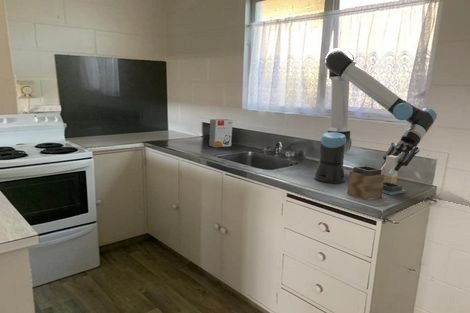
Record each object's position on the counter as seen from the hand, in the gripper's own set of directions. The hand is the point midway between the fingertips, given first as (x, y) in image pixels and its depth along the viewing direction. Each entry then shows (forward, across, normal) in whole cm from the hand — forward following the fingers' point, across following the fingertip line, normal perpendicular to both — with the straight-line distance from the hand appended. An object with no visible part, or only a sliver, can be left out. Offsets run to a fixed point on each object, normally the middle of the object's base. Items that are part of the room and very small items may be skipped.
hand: (385, 173), depth 154 cm
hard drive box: (+18, +129, +7) cm, 131 cm away
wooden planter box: (+15, 0, +3) cm, 15 cm away
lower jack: (+3, 0, -9) cm, 9 cm away
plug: (0, 0, -6) cm, 6 cm away
